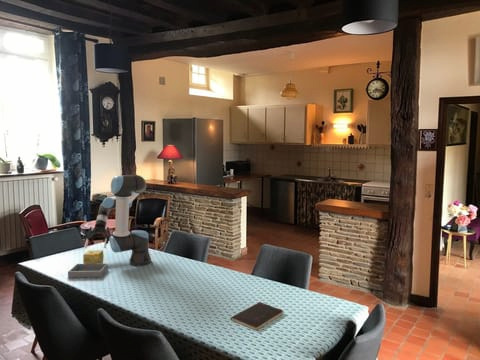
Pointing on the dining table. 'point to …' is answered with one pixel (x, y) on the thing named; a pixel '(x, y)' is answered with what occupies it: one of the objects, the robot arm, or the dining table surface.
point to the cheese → (93, 257)
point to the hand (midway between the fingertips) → (95, 247)
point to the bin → (87, 271)
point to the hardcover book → (257, 315)
